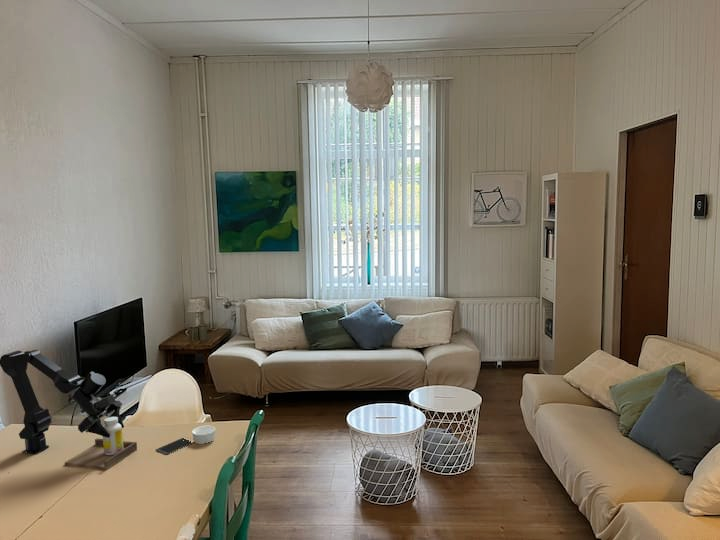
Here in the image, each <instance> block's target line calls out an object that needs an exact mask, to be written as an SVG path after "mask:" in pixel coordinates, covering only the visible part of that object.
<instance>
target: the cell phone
mask: <svg viewBox="0 0 720 540" xmlns="http://www.w3.org/2000/svg"><path fill="white" fill-rule="evenodd" d="M183 440H184V441H183ZM189 444H191V441H190V442H189V440H186V439H184V438H183V437H181V438H179V439H176V440H174V441H172V442H170V443H167V444H165V445H163V446H161V447H158V448H156V449H155V452H156V451H157V452H156V453H159V452H160V453H159V454H162V455H164V456H168V455H171V454H173V453H175V452H177V451H179V450H178V449H180V450H182V449H184V448H186V447H188V446H190V445H189ZM187 445H188V446H187ZM191 445H192V444H191ZM185 446H186V447H185ZM183 447H184V448H183ZM181 448H182V449H181ZM176 450H177V451H176ZM174 451H175V452H174ZM172 452H173V453H172ZM170 453H171V454H170Z"/></svg>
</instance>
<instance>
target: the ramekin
mask: <svg viewBox="0 0 720 540" xmlns="http://www.w3.org/2000/svg"><path fill="white" fill-rule="evenodd" d="M191 432H192V433H191V434H192V437H193V438H192V439H193V440H194V442H195V443H194V444H196V443H198V444H197V445H205V444H204V443H207V444H209V443H208V442H210V443H212V442H213V441H214V440H215V438H216V437H215V436H216V435H215V434H216V427H214V426H213V425H201V426H198V427H195V428H194V429H192V431H191ZM211 441H212V442H211Z"/></svg>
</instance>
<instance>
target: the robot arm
mask: <svg viewBox="0 0 720 540" xmlns="http://www.w3.org/2000/svg"><path fill="white" fill-rule="evenodd" d="M29 364H30V365H31V366H32V367H33V368H35V369H37V370H38V371H39V372H41V373H42V374H43V375H45V376H46V377H48V378H49V379H50V380H52V381H53V385H54V387H55V388H56V389H57V390H58V391H59V392H60V393H62V394H69V393H71V394H69V395H68V399H67V403H68V404H69V403H71V402H75V403H76V405H78V406H79V407H80V408H81V411H80V413H82V414H84V413H86V415H87V416H86V417H84V418H83V420H82V421H81V422H80V423H79V424H78V425H77V430H78V431H79V432H80V433H81V434H83V433H91V434H94V435H99V436H102V437H103V436H104V437H107V438H109V437H110V434H109V433H108V432H107V430H106V429H105V428H104V425H103V424H102V421H101V419H102V418H104V417H105V416H106V418H109V417H118V423H119V424H121V426H122V429H123V428H125V425H124V422H123V420H122V418H121V415H120V410H121V409H122V406H123V403H122V401H120V400H116V399H117V395H116V394H115V393H114V392H113V391H109V392H108V393H106V394H105V397H103V398H101V397H99V396H97V397H96V396H95V394H98V392H99V391H100V390H101V388H103V386H104V385H105V384H106V382H107V379H106V378H105V376H104V375H102V374H100V373H95V371H90V372H88V374H86V377H84V376H80V375H79V374H77V373H75V372H73V371H70V370H65V369H64V368H62V367H60V366H59V365H57V364H56V363H54V362H53V361H52V360H51V359H49V358H48V357H46V356H45V355H43V354H42V353H41V351H40V350H38V349H32V350H27V351H21V350H15V351H12V352H9V353H5V354H3V355H1V356H0V368H1V369H2V371H3V373H4V374H6V375H7V376H9V377H10V379H12V383H13V385H14V388H15V391H16V393H17V395H18V398H19V400H20V404H21V406H22V408H23V411H24V415H23V424H24V425H23V426H24V427H23V428H22V429H21V431H19V433H18V435H19V438H20V439H21V440H24V445H25V449H24V450H22V451H21V452H27V453H26V454H30V453H34V454H33V455H36V453H37V454H38V452H39V453H41V452H42V451H44V450H46V449H48V448H49V447H50V445H47V442H46V441H47V440H46V434H45V432H47V431H49V428H50V425H51V423H52V416H51V414H50V411H49V409H48V408H42V407H41V406H40V403H39V401H38V398H37V397H36V393H35V392H34V389H33V386H32V383H31V381H30V378H29V376H28V373H27V370H28V365H29Z"/></svg>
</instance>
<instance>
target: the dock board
mask: <svg viewBox="0 0 720 540" xmlns="http://www.w3.org/2000/svg"><path fill="white" fill-rule="evenodd" d="M137 444H138V443H137V442H136V441H125V440H123V447H124V449H123V450H121V451H120V452H118V453H117V454H115V455H106V454H105V453H104V447H103V438H95V439H94V444H93V445H92V446H90V447H88V448H86V449H85V450H83V451H82V452H80V453H78V454H77V455H75V456H73V457H71V458H69V459H68V460H66V461H64V466H68V465H69V467H79V468H88V469H96V470H104V471H108V470H109V469H111V468H112V467H114V466H116V465H117V464H118V463H120V462H121V461H122V460H124V459H125V458H127V457H129V456H130V455H132V454H133V453H134V452H136V451H138V445H137Z"/></svg>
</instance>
